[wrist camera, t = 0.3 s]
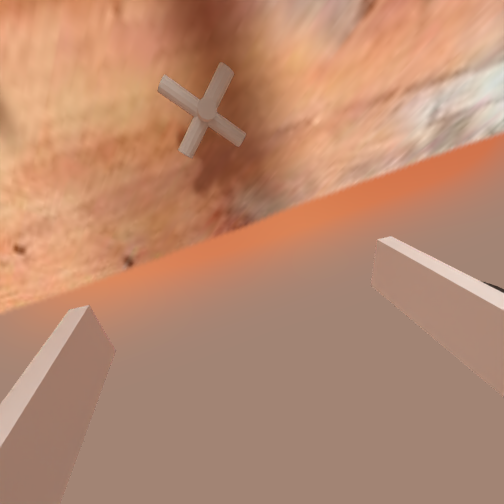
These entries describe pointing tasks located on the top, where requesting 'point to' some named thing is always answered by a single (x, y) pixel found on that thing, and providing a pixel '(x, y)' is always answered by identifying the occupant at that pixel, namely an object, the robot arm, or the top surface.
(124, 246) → the top surface
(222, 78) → the pipe connector
